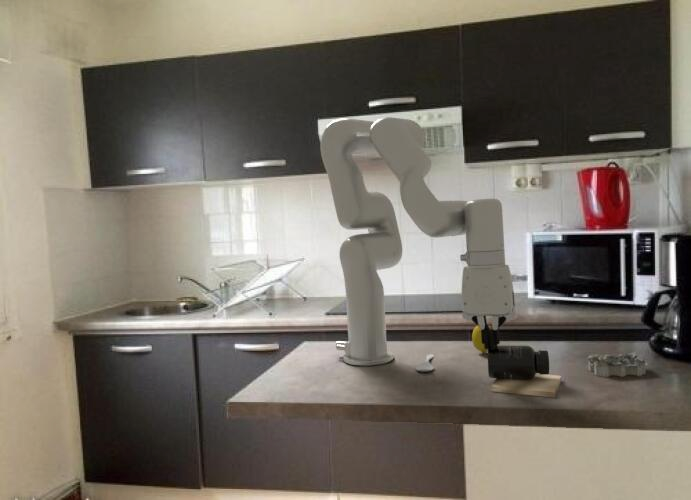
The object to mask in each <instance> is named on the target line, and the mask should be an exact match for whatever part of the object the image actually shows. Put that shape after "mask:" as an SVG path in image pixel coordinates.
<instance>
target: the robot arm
mask: <svg viewBox="0 0 691 500" xmlns="http://www.w3.org/2000/svg"><path fill="white" fill-rule="evenodd" d="M424 132H425V131H424V130H423V128H422V126H421V125H420V124H419V123H418V122H416V121H415V120H412V119H407V118H399V117H392V116H391V117H390V116H388V117H387V116H386V117H382V118H380V119H377V120H376V121H373V120H365V119H364V120H362V119H357V118H339V119H336V120H332V121H331V122H330V123H329V124H327V126H326V127H325V129H324V131H323V132H322V136H321V139H320V147H319V149H320V154H321V159H322V162H323V165H324V166H323V167H324V168H325V171H326V174H327V177H328V181H329V186H330V190H331V191H330V192H331V194H332V200H333V203H334V207H335V208H334V209H335V213H336V217H337V220H338V222H339V225H340V226H341V227H342V228H343V229H346V230H351V231H356V230H367V231H368V232H367V233H360V234H354V235H351V236H349V237H348V238H346V239H345V240H344V241H343V242H342V244H341V245H340V248H339V261H340V266H341V269H342V272H343V273H342V274H343V279H344V288H345V300H346V301H345V302H346V316H347V317H346V319H347V337H348V340H347V341H342V340H341V341H340V340H338V341H336V344H335V348H336V349H335V350H337V351H344V352H345V354H344V355H343V357H342V358H343V361H344V363H346V364H349V365H353V366H360V367H361V366H363V367H364V366H378V365H384V364H387V363H389V362H391V361H393V359H394V353H393V352H392V351H391V350H388V347H387V326H386V308H385V307H386V306H385V292H384V285H383V282H382V279H381V278H380V276H379V273H378V271H380V270H385V269H391V268H393V267H395V266H397V265H398V264H399V263H400V261H401V259H402V256H403V243H402V238H401V233H400V230H399V225H398V221H397V217H396V212H395V209H394V208H395V207H394V205H393V203H392V201H391V200H390V199H389V197H388V196H387V195H385V194H384V193H382V192H379V191H368V190H367V188H366V184H365V181H364V176H363V173H362V170H361V168H360V166H359V165H358V163H357V162H356V161H355V160H354V158H353V156H352V155H363V156H365V155H367V156H368V155H369V156H380V158H381V159H382V161H383V162H384V163H385V165H386V166H387V167H388V168H389V170H390V171H391V172H392V173H393V175H394V176H395V177H396V179H397V180H398V182H399V193H400V194H399V195H400V199H401V203H402V206H403V208H404V210H405V211H406V213H407V215H408V216H409V217H410V219H411V220H412V222H413V223H414V224H415V226H416V227H417V228H418V229H419V230H420V231H421V232H422V233H424V234H425V235H426V236H429V237H430V238H445V237H455V236H463V235H465V241H466V243H465V244H466V245H465V247H466V252H465V253H464V254H460V262H465V263H466V266H464V267H463V270H462V278H461V311H462V316H461V318H462V319H465V320H467V321H471V322H473V323H475V325H476V326H478V327H479V329H481V338H482V344H484V348H485V349H488V348H489V347H490V348H491V349H495V348H496V347H497V345H500V342H501V340H500V327H501V326H502V325H504V323H505V322H510V321H514V320H516V319H518V318H517V317H518V315H517V311H516V309H515V306H516V301H515V291H514V290H515V289H514V284H513V277H512V273H511V269H510V265H509V264H506V254H505V238H504V235H505V234H504V220H503V218H504V217H503V216H504V215H503V205H502V202H501V200H499V199H497V198H480V199H471V200H439V199H437V198H436V196H435V195H434V193H432V191H431V190H430V189H429V187H428V185H427V184H426V181H425V178H426V176H427V175H428V174H429V172H430V170H431V168H432V159H431V157H430V156H429V155H428V154H427V153H426V152H425V151H424V149H423V146H424V144H425V137H426V136H425V133H424ZM487 316H489V317H490V316H491V317H492V319H491V320H492V321H491V326H490V325H489V324H488V319H487ZM489 326H490V327H491V329H490V327H489Z"/></svg>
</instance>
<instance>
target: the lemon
mask: <svg viewBox="0 0 691 500" xmlns="http://www.w3.org/2000/svg"><path fill="white" fill-rule="evenodd" d="M489 327H490V329H491V326H490V325H489ZM471 339H472V344H473V346H474V348H475V349H476V350H478V351H479V352H481V353H482V354H483V355H484V354H486V353H488V349H485V348H484V344H482V338H481V329H479V327H478V326H477V325H476V326H475V327H474V328H473V331H472V334H471Z"/></svg>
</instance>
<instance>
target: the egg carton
mask: <svg viewBox="0 0 691 500" xmlns="http://www.w3.org/2000/svg"><path fill="white" fill-rule="evenodd" d="M586 359H587V360H588V370H589V371H590V372H594V375H595V376H598V377H599V376H600V377H604V378H609V377H610V376H619V377H626V376H628V375H630V376H636V375H637V376H636V377H642V376H643V375H646V374H647V373H646V366H649V363H648V362H646V361H645V359H643V358H642V357H641V356H640V355H638V354H637V353H636V352H635V351H632V352H629V353H619V354H617V353H612V354H598V353H592V354H590V355H588V356H587V357H586ZM642 374H643V375H642ZM641 375H642V376H641Z"/></svg>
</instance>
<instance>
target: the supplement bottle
mask: <svg viewBox="0 0 691 500" xmlns="http://www.w3.org/2000/svg"><path fill="white" fill-rule="evenodd" d="M549 357H550V356H549V352H548V350H541V349H538V350H537V351H535V349H534V347H532V346H531V345H515V344H514V345H510V344H508V345H500V344H499V345H498V344H497V347H496V348H495V349H491V348H490V347H489V348H488V351H487V371H488V377H489V379H497V378H498V379H532V378H533V377H534V376H535V375H536V374H540V375H542V374H545V375H550V358H549Z"/></svg>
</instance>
